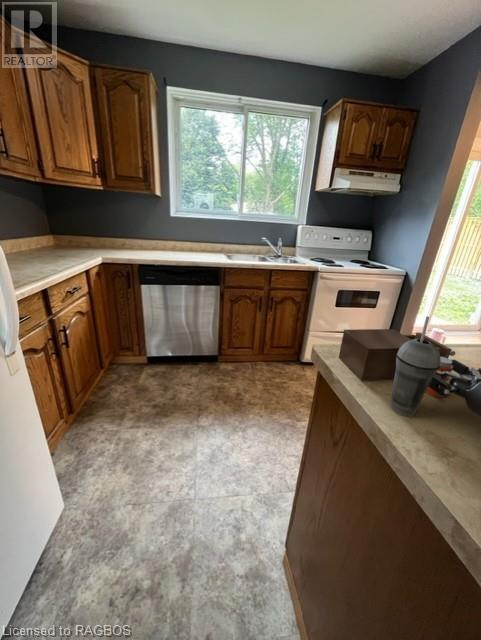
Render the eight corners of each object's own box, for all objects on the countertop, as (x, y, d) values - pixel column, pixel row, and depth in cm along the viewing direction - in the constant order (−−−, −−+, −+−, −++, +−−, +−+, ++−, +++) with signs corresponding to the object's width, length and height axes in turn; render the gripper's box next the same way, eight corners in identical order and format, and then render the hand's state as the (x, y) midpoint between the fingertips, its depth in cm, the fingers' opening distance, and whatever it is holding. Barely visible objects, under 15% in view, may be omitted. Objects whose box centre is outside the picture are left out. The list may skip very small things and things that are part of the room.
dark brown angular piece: (426, 353, 79) (433, 332, 77) (457, 372, 70) (466, 348, 67) (370, 355, 77) (376, 333, 74) (395, 374, 67) (402, 350, 65)
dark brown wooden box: (385, 356, 78) (393, 329, 75) (415, 378, 68) (425, 347, 65) (338, 357, 76) (344, 329, 73) (361, 380, 65) (368, 348, 62)
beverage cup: (387, 417, 53) (415, 322, 46) (379, 395, 60) (402, 310, 53) (428, 424, 52) (463, 328, 45) (415, 401, 59) (443, 314, 52)
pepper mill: (433, 386, 64) (444, 355, 61) (447, 397, 61) (459, 364, 58) (418, 387, 64) (428, 355, 61) (431, 398, 60) (443, 364, 57)
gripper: (553, 390, 46) (466, 348, 61) (481, 394, 44) (410, 349, 59) (534, 425, 49) (456, 376, 64) (466, 430, 47) (401, 378, 62)
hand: (434, 363), depth 62 cm, fingers open, 8 cm apart
